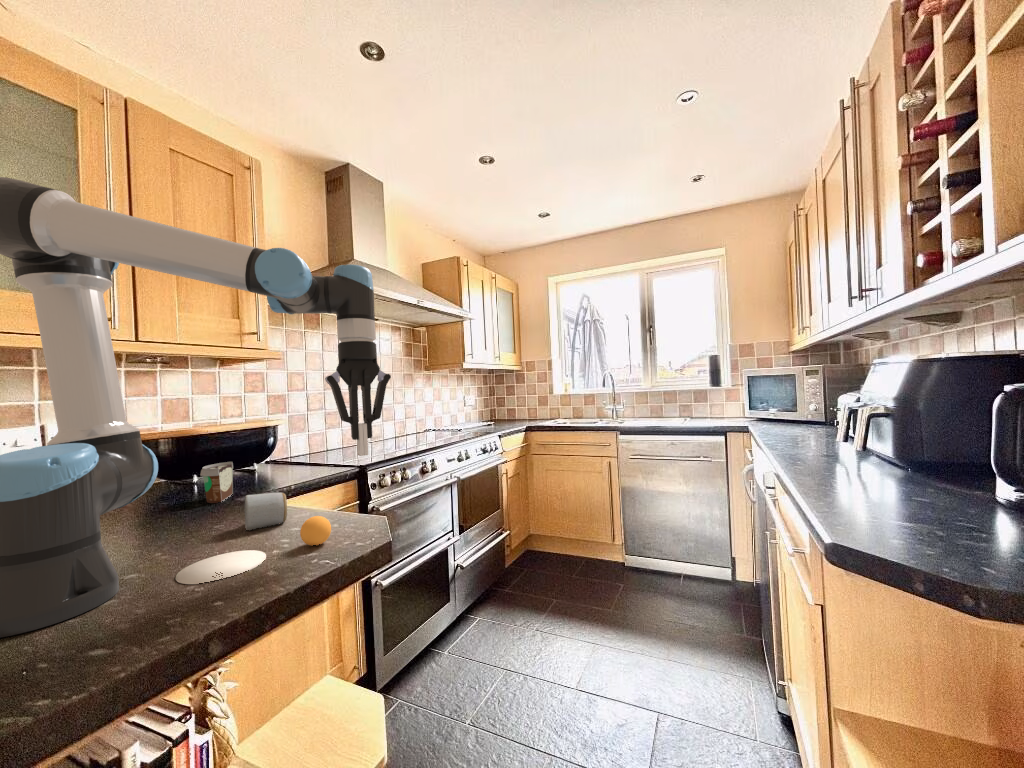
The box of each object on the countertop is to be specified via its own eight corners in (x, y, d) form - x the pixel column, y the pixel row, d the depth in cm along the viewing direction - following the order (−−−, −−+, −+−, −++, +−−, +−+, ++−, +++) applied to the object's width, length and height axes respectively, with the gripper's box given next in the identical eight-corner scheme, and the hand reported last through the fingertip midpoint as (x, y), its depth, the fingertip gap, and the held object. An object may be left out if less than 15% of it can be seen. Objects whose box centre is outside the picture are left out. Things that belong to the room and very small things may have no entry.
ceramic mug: (289, 525, 94) (287, 491, 94) (246, 534, 89) (244, 499, 89) (282, 516, 102) (281, 484, 102) (243, 523, 97) (242, 491, 98)
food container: (211, 496, 126) (209, 463, 126) (234, 493, 128) (233, 461, 128) (193, 506, 115) (192, 470, 115) (219, 503, 117) (217, 468, 117)
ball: (302, 552, 77) (301, 523, 77) (299, 544, 82) (297, 516, 82) (334, 545, 80) (332, 517, 80) (329, 537, 85) (328, 510, 85)
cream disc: (170, 592, 64) (170, 591, 64) (180, 564, 74) (180, 563, 74) (267, 568, 71) (267, 567, 71) (264, 545, 82) (264, 544, 82)
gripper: (383, 344, 93) (389, 448, 93) (320, 343, 86) (325, 457, 86) (393, 340, 86) (399, 452, 86) (326, 339, 79) (332, 461, 79)
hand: (362, 454), depth 86 cm, fingers closed
